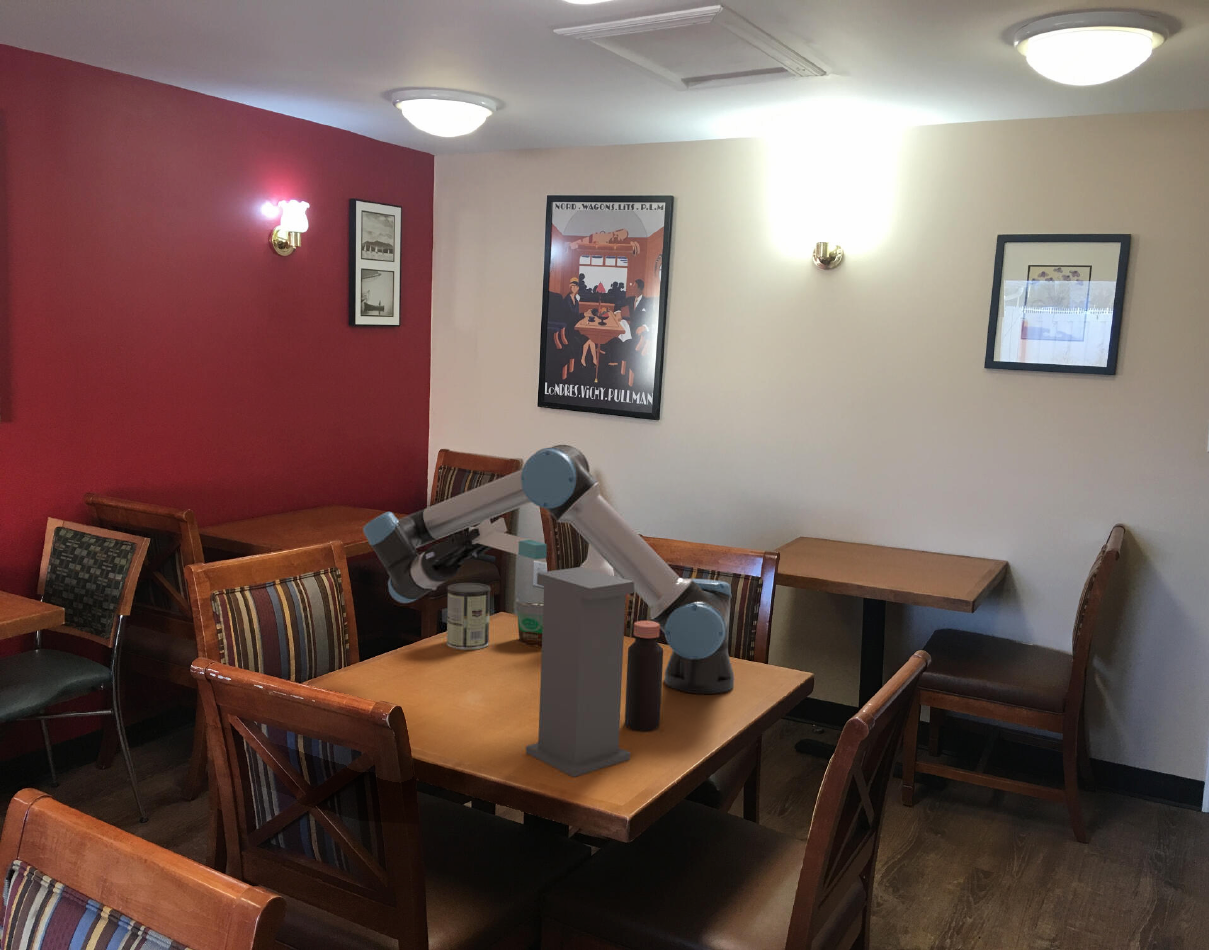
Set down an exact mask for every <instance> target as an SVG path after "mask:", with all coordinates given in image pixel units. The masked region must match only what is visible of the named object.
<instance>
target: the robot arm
mask: <svg viewBox="0 0 1209 950" xmlns="http://www.w3.org/2000/svg"><path fill="white" fill-rule="evenodd" d="M590 471H591V470H590V464H589V461H588V460H587V458H586V456H585V455H584V453H583V452H582V451H581V450H579V449H578V448H576V447H574V446H571V445H568V444H558V445H553V446H551V447H545V448H541V449H539V450H537V451H535V453H534V454H532V455H531V456H530V457H529V458H528V459H527V460H526V461H525V463H524V465H523V467H522V469H519V470H517V471H515V472H512V473H510V474H507V475H504V476H503V477H500V478H497V479H495V480H492V481H491V482H488V483H484V485H480V486H478V487H475V488H473V489H471V490H470V489H469V490H467V491H465V492H463V493H460V494H458V495H455V496H453V497H451V498H449V499H446V500H444V501H441V502H439V503H436V504H434V505H431V506H428V507H426V508H425V509H421V510H419V511H416V512H414V513H410V514H408V515H406V516H404V517H401V518H398V517H396V515H395V514H394V513H393V512H392V511H386V512H384V513H382V514H380V515H379V516H377V517H375V518H373V519H372V520H370V521H369V522H368V523H366V524H365V525H364V526H363V528H362V530H363V533H364V536H365V538H366V539H367V541H368V544H369V545H370V546H371V548H372V549H373V551H374V553H375V554H376V556H377V557H378V559H379V560H380V562H381V563H382V565H383V567H384V568H385V570H386V572H387V573H388V575H389V579H388V581H387V586H388V587H387V588H388V592H389V594H390V596H391V597H392V598H393V599H394V600H395V601H397V602H399V603H402V604H408V603H412V602H415V601H416V600H419V599H421V598H423V596H425V595H427V594H428V593H430V592H431V591H436V590H438V589H437V587H438V586H441V585H442V584H443V583H444V582H446V581H447V582H448V581H449V580H450V579H452V578H453V577H455V576H456V575H457V574H458V572H459V571H460V568H461V565H462V564H463V563H465V562H466V560H468V559H471V558H472V557H473V556H474V558H477V559H480V558H482V557H483V556H484V554H485V553H486V552H488V551H489V550H491V549H492V548H493V547H490V546H486V545H483V544H479V543H478V542H479V541H481V540H482V539H484V538H485V537H487V536H488V535H490V534H491V533H493V530H495V531H499V532H503V533H507V532H508V527H507V525H506V522H505V519H504V517H500V518H498V519H497V520H495V521H494V522H493V523H492V522H491V519H493V518H496V517H498V516H501V515H504V514H505V513H508V512H511V511H513V510H516V509H519V508H521V507H524V506H526V505H528V504H531V503H533V504H534V506H535V505H536V506H537V507H539V508H542V509H545V510H547V512H548V513H549V514H550V515H552V517H553V518H554V519H555V520H556V521H557V522H558V523H566V524H570V525H571V526H572V527H573V528H574V530H576V531H577V532H578V534H580V535H581V537H583V539H584V540H585V541H587V543H588V545H589V544H590V545H591V546H592V547H593V548H594V549H595V550H596V551H597V552H598V553H599V554H600V555H601V556H602V557H603V558H604V559H605V560H606V561H607V562H608V563H609V565H610V566H611V567H612V568H613V571H615V572H616V573H617V574H618V575H619V576H620V578H623V579H627V580H630V581H634V593H636V594H637V595H638V596H639V597H640V598H641V600H642V601H644V602H645V603H646V604H647V606H648V607H649V608H650V619H651V621H653V622H657V623H659V624H660V630H661V631H662V632H663V633H664V637H665V639H666V642H667V645H668V646H669V647H670V649H671V650H672V652H671V654H670V657H669V659H668V662H667V665H666V667H665V670H664V683H665V684H666V686H668V687H670V688H672V689H674V690H677V691H680V692H686V693H690V694H691V693H692V694H701V695H712V694H721V693H726V692H728V691H730V690H733V688H734V687H735V685H734V684H735V683H734V682H735V674H734V672H733V671H734V670H733V666H732V663H731V658H730V655H729V652H728V651H729V649H728V648H729V629H730V628H729V627H730V613H731V599H732V593H731V592H732V588H731V585H730V584H729V583H728V582H726V581H723V580H722V581H721V580H713V579H704V578H683V577H680V576H679V575H678V574H677V573H676V571H674V570H673V569H672V568H671V567H670V565H668V564H667V562H665V560H664V559H663V558H662V557H661V556H660V555H659V554H658V553H657V552H656V551H655V550H654V549H653V548H652V547H651V545H649V544H648V543H647V542H646V541H645V539H643V538H642V536H641V535H640V534H639V533H638V532H637V531H635V529H634V528H633V527H632V526H631V525H630V524H629V523H628V522H627V521H626V519H624V517H622V516H621V515H620V514H619V513H618V511H616V510H615V508H614V507H612V505H611V504H610V503H609V502H608V501H607V500H606V499H605V498H604V497H603V496H602V495H601V492H600V482H599V481H598V480H597V479H596V478H595V477H594V476H593V475H592V474H591V472H590ZM475 525H476V526H475ZM469 527H474V528H473V529H471V530H470V531H469V530H468V532H467V531H464V532H463V533H461V534H460V535H459V533H457V532H460V531H462V530H465V529H467V528H468V529H469ZM449 535H451V536H450V537H448V538H446V539H445V540H443V541H441V542H439V543H436V544H434V545H433V546H431V547H429V548H428V549H426V550H424V552H422V553H420V554H419V552H418V550H417V549H418V548H420V547H423V546H425V545H427V544H430V543H432V542H434V541H437V540H439V539H442V538H444V537H447V536H449Z"/></svg>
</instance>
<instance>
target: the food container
mask: <svg viewBox="0 0 1209 950" xmlns="http://www.w3.org/2000/svg"><path fill="white" fill-rule="evenodd" d="M543 603H544V602H543ZM543 603H542V602H532V603H531V602H529V603H527V602H519V599H518V598H516V600H515V605H514V610H515V611H516V612H517V613H516V614H517V615H516V616H517V627H518V628H517V629H518V641H519V642H520V643H521V642H522V643H521V644H523V643H525V644H524V645H526V644H528V645H527V646H533V645H542V630H543Z"/></svg>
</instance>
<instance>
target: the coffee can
mask: <svg viewBox="0 0 1209 950" xmlns="http://www.w3.org/2000/svg"><path fill="white" fill-rule="evenodd" d="M446 590H447V615H446V616H447V619H446V621H447V622H446V623H447V624H446V626H447V627H446V629H447V630H446V646H447V647H449V648H451V649H454V650H463V651H472V650H475V651H476V650H482V649H485V648H487V647H488V646H489V644H490V643H489V642H490V641H489V637H490V634H489V633H490V604H491V602H490V597H491V596H490V595H491V593H490V592H491V586H490V585H488V584H484V583H478V582H459V583H453V584H450V585H448V586H447V589H446Z"/></svg>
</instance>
